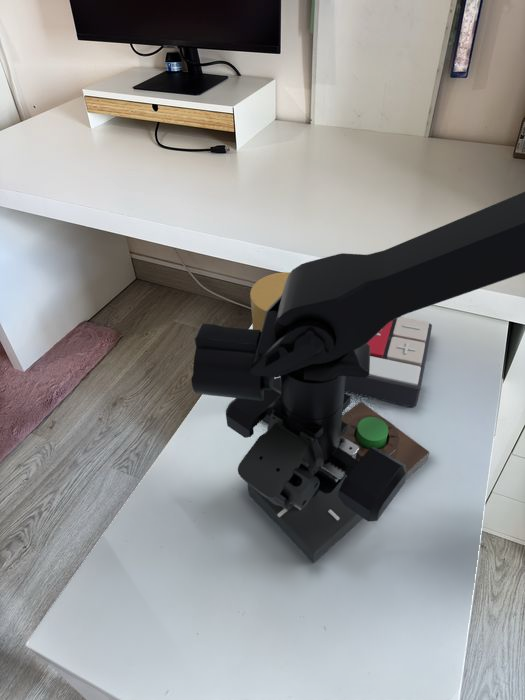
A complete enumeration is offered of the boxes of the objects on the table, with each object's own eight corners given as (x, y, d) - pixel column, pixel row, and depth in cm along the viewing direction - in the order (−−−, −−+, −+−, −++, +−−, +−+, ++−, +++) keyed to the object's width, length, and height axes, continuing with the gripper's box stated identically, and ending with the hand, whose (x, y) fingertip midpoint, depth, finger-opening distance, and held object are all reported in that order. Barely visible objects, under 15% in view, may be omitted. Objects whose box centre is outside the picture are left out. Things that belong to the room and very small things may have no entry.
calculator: (433, 319, 76) (421, 385, 65) (428, 341, 79) (416, 408, 68) (361, 306, 79) (338, 367, 68) (358, 328, 82) (336, 389, 71)
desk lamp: (328, 404, 69) (335, 292, 56) (285, 435, 66) (282, 324, 53) (289, 373, 74) (287, 264, 61) (246, 401, 70) (235, 291, 57)
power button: (392, 438, 61) (394, 429, 60) (372, 454, 59) (374, 446, 58) (369, 421, 63) (371, 412, 62) (350, 436, 61) (351, 427, 60)
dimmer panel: (371, 511, 57) (373, 499, 56) (313, 564, 53) (313, 552, 51) (304, 452, 64) (304, 439, 62) (247, 495, 60) (246, 482, 58)
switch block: (427, 460, 62) (432, 443, 60) (379, 504, 58) (382, 487, 56) (359, 409, 68) (362, 392, 66) (312, 445, 64) (313, 428, 62)
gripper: (177, 400, 46) (199, 491, 57) (349, 519, 37) (337, 602, 48) (257, 336, 52) (263, 430, 63) (422, 424, 43) (397, 517, 54)
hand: (308, 488), depth 56 cm, fingers closed, pressing on dimmer knob
